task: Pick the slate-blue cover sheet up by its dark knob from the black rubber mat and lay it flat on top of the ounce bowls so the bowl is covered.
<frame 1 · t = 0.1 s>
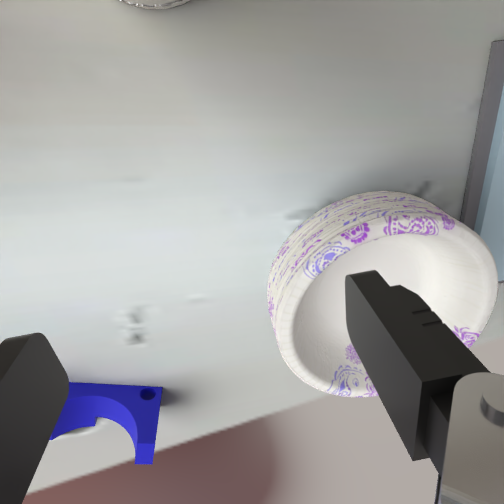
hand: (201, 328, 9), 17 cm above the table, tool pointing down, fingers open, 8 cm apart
cable clip: (99, 396, 35), on the table
paper bowls: (347, 260, 30), on the table
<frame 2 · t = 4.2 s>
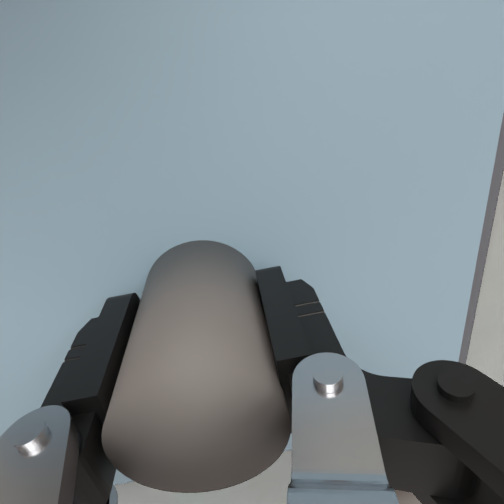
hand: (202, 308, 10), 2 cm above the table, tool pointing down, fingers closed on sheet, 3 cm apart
mat: (204, 269, 12), on the table
sheet: (203, 277, 12), resting on mat, touching gripper
when the fingers open (11 cm above the table, at t = 8.9 s): sheet drops 2 cm, resting on paper bowls.
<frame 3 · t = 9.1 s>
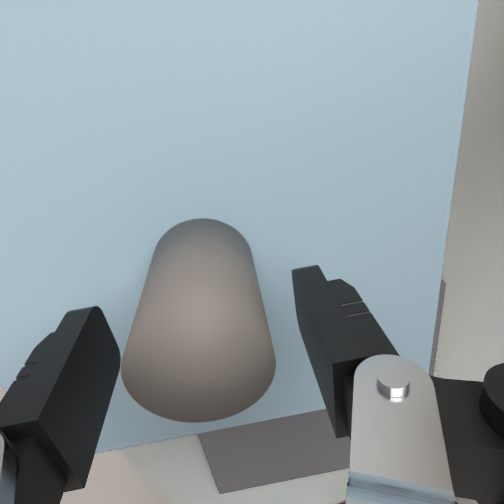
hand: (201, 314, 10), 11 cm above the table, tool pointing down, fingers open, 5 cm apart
mat: (313, 400, 29), on the table
sheet: (203, 253, 13), point 8 cm above the table, touching paper bowls
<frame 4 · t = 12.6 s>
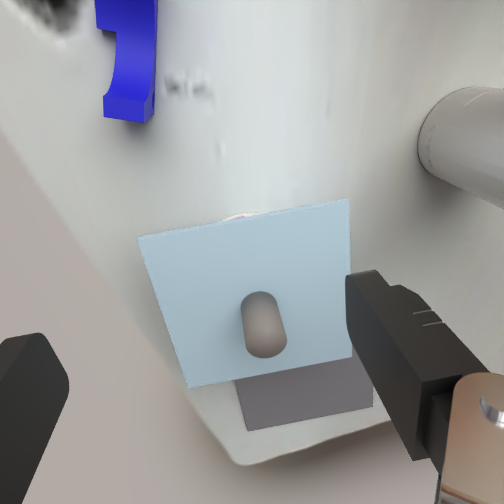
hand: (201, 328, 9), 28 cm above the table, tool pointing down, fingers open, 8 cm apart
cable clip: (130, 35, 30), on the table
mat: (304, 371, 50), on the table
sheet: (257, 301, 34), point 8 cm above the table, touching paper bowls
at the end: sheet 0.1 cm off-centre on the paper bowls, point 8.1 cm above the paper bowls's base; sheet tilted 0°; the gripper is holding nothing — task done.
